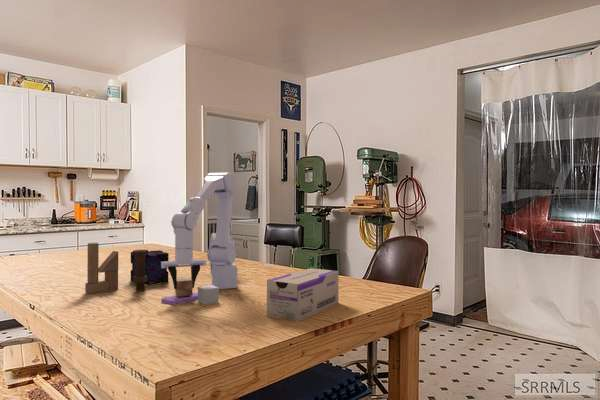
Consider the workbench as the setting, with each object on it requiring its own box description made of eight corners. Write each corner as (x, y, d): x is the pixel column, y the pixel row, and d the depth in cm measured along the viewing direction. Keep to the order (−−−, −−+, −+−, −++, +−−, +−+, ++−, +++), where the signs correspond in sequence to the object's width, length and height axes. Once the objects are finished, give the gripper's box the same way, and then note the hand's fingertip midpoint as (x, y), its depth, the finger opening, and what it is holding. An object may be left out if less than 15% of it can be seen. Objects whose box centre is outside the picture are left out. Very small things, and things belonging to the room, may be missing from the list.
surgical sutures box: (310, 299, 142) (310, 268, 142) (338, 303, 137) (338, 271, 137) (266, 316, 121) (266, 280, 121) (297, 322, 115) (297, 284, 115)
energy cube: (168, 282, 169) (168, 253, 169) (137, 286, 162) (137, 255, 162) (160, 278, 179) (160, 250, 179) (130, 281, 172) (130, 252, 172)
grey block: (211, 299, 141) (211, 285, 141) (218, 302, 137) (218, 287, 137) (197, 301, 138) (197, 286, 138) (204, 305, 134) (204, 289, 134)
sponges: (161, 303, 137) (161, 298, 137) (190, 296, 147) (190, 291, 147) (175, 306, 133) (175, 301, 133) (204, 299, 143) (204, 293, 143)
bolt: (142, 292, 150) (142, 251, 150) (129, 292, 151) (129, 251, 151) (150, 289, 156) (151, 249, 156) (138, 288, 157) (138, 249, 157)
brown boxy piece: (190, 292, 144) (190, 277, 144) (192, 295, 139) (192, 280, 139) (175, 293, 142) (175, 278, 142) (177, 296, 137) (177, 281, 137)
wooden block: (118, 289, 156) (118, 241, 156) (90, 294, 147) (90, 243, 147) (113, 288, 158) (113, 240, 158) (84, 293, 150) (85, 243, 150)
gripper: (162, 250, 133) (162, 292, 133) (207, 248, 139) (207, 288, 139) (160, 247, 140) (160, 288, 140) (204, 246, 146) (204, 284, 146)
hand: (183, 288), depth 140 cm, fingers closed on brown boxy piece, 5 cm apart
